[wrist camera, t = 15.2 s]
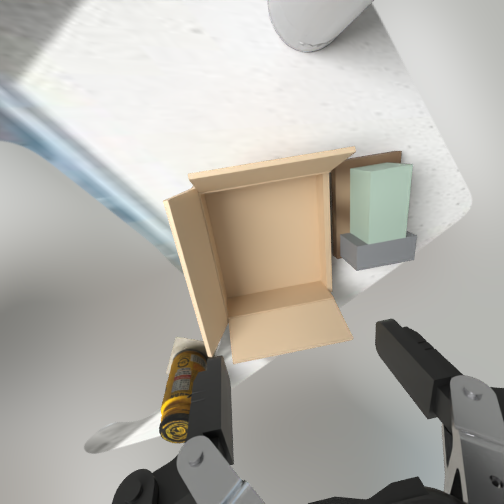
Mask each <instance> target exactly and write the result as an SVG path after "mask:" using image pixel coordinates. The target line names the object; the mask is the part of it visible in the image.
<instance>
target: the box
mask: <svg viewBox="0 0 504 504" xmlns="http://www.w3.org/2000/svg"><path fill="white" fill-rule="evenodd" d="M412 168H413V164H401V163H388V162H386V163H380V164H374V165H368V166H363V167H357V168H351V169H350V233H345V234H340V256H341V257H342V258H343V259H344V260H345V261H346V262H347V263H349V264H350V265H351V266H352V267H353V268H354V269H355V270H356V271H358V270H363V269H369V268H374V267H379V266H384V265H390V264H395V263H400V262H405V261H410V260H414V256H415V248H416V239H417V235H415V234H412V233H410V232H408V231H406V230H407V220H408V209H409V199H410V189H411V178H412Z"/></svg>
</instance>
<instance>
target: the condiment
mask: <svg viewBox="0 0 504 504" xmlns="http://www.w3.org/2000/svg"><path fill="white" fill-rule="evenodd" d="M217 347H218V346H217ZM216 350H217V348H216ZM216 350H215V352H214V354H213V356H212V357H208V355H207V351H206V348H205V344H204V341H198V340H195V339H187V338H180V337H176V339H175V342H174V346H173V349H172V353H171V357H170V361H169V365H168V368H167V372H166V374H169V378H168V381H167V385H166V390H165V394H164V398H163V402H162V407H161V414H162V417H161V423H160V427H159V429H160V430H159V433H160V434H161V437H162V438H163V439H165V440H166V441H169V442H172V443H185V441H186V437H187V429H188V421H189V413H190V404H191V396H192V388H193V382H194V380H195V378H196V376H197V374H198V372H202V371H206V370H207V359H208V358H213V357H214V356H215V353H216Z"/></svg>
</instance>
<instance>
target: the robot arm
mask: <svg viewBox="0 0 504 504" xmlns="http://www.w3.org/2000/svg"><path fill="white" fill-rule="evenodd" d="M373 1H374V0H268V9H269V14H270V18H271V22H272V24H273V26H274V28H275V31H276V32H277V34H278V35H279V36H280V38H281V39H282V40H283V41H284V42H285V43H286V44H287V45H288V46H290V47H292V48H294V49H295V50H299V51H303V52H313V51H316V50H320V49H322V48H323V47H325V46H327V45H328V44H329V43H331V42H332V41H333V40H334V39H335V38H336V37H337V36H338V35H339V34H340V33H341V32H342V31H343V30H344V29H345V28H346V27H347V26H348V25H349V24H350V23H351V22H352V21H354V20H355V19H356V18H357V17H358V16H359V15H360V14H361V13H362V12H363V11H364V10H365V9H366V8H367V7H368V6H369V5H370V4H371V3H372V2H373ZM375 345H376V350H377V352H378V354H379V356H380V357H381V359H382V360H383V361H384V363H385V364H386V365H387V367H388V368H389V369H390V371H391V372H392V373H393V374H394V376H395V377H396V378H397V380H398V381H399V382H400V384H401V385H402V386H403V388H404V389H405V390H406V392H407V393H408V394H409V395H410V397H411V398H412V399H413V401H414V402H415V403H416V404H417V406H418V407H419V408H420V410H421V411H422V412H423V414H424V415H425V416H426V417H427V419H431V418H436V417H438V418H439V419H440V421H441V422H442V440H443V454H444V468H445V482H444V492H443V491H441V490H437V489H435V488H431V487H425V486H424V485H423V483H422V482H421V480H420V479H419V477H414V478H410V479H406V480H401V481H398V482H393V483H391V484H389V485H388V486H386V487H385V488H384V489H382V490H381V491H379V492H378V493H377V494H375V495H374V496H372V497H371V498H369V499H366V500H365V499H353V498H343V497H332V498H328V499H324V500H320V501H316V502H312V503H308V504H504V388H493V387H489V386H488V385H487V384H485V383H484V382H482V381H480V380H478V379H476V378H473V377H470V376H464V375H463V374H462V373H460V372H459V371H458V370H457V369H456V368H455V367H454V366H453V365H452V364H451V363H450V362H448V361H447V360H446V359H445V358H444V357H443V356H442V355H441V354H440V353H439V352H438V351H437V350H436V349H434V348H433V347H432V346H431V345H430V344H429V343H428V342H426V340H425V339H424V338H423V337H422V336H421V335H420V334H419V333H417V332H416V331H414V330H412V329H409V328H408V327H403V328H402V327H401V326H400V325H399V324H398V323H397V322H396V321H395V320H394V319H388V320H383V321H378V322H377V323H376V339H375ZM233 464H234V459H233V434H232V408H231V386H230V380H229V375H228V372H227V369H226V365H225V362H224V358H223V356H217V357H213V358H208V359H207V370H206V371H202V372H198V374H197V376H196V378H195V380H194V382H193V388H192V396H191V404H190V413H189V421H188V429H187V437H186V441H185V444H184V445H183V447H182V448H181V450H180V452H179V454H178V455H177V456H176V457H175V458H174V459H173V460H172V461H170V462H169V463H168V464H166V465H164V466H163V467H161V468H160V469H158V470H156V471H155V472H153V473H151V472H150V471H149V470H147V469H139V470H136V471H134V472H133V473H131V474H130V475H128V476H127V477H126V478H125V479H124V480H123V482H122V483H121V484H120V486H119V487H118V489H117V491H116V493H115V495H114V498H113V502H112V504H265V503H264V501H263V500H262V499H261V498H260V496H259V495H258V494H257V493H256V491H255V490H254V489H253V488H252V487H251V485H250V484H249V483H248V482H247V481H245V480H244V481H243V480H242V479H241V478H240V477H239V476H238V475H237V473H236V472H235V471H234V470H233V468H232V467H231V466H230V465H233Z"/></svg>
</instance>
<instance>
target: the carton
mask: <svg viewBox="0 0 504 504" xmlns="http://www.w3.org/2000/svg"><path fill="white" fill-rule="evenodd" d="M355 152H356V150H355V146H353V147H347V148H341V149H335V150H329V151H323V152H317V153H311V154H305V155H299V156H293V157H287V158H281V159H275V160H269V161H263V162H257V163H251V164H245V165H239V166H233V167H227V168H221V169H215V170H209V171H203V172H197V173H190V174H188V178H189V180H190V182H191V183H192V184H193V187H192V188H191V189H189V190H187V191H185V192H182V193H180V194H178V195H175V196H173V197H171V198H168V199H166V200H164V201H163V203H164V206H165V210H166V213H167V216H168V220H169V223H170V227H171V230H172V234H173V237H174V241H175V244H176V248H177V251H178V254H179V258H180V261H181V265H182V268H183V272H184V275H185V279H186V282H187V285H188V289H189V292H190V296H191V299H192V303H193V306H194V310H195V313H196V317H197V320H198V323H199V327H200V330H201V334H202V337H203V341H204V344H205V348H206V351H207V355H208V357H212V356H213V354H214V352H215V350H216V348H217V346H218V343H219V341H220V339H221V337H222V335H223V333H224V331H225V329H226V327H227V325H228V323H229V329H230V339H231V349H232V359H233V364H236V363H241V362H246V361H251V360H256V359H261V358H266V357H271V356H276V355H281V354H285V353H291V352H296V351H301V350H306V349H311V348H316V347H321V346H325V345H330V344H335V343H340V342H345V341H350V340H353V336H352V334H351V332H350V330H349V328H348V326H347V324H346V322H345V320H344V318H343V316H342V314H341V312H340V310H339V308H338V306H337V304H336V302H335V300H334V297H333V296H332V294H331V293H330V292H332V264H331V227H330V190H329V172H331V170H333V169H334V168H335V167H337V166H338V165H339V164H341V163H342V162H343V161H344V160H346V159H347V158H348V157H350V156H351V155H352V154H354V153H355Z"/></svg>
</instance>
